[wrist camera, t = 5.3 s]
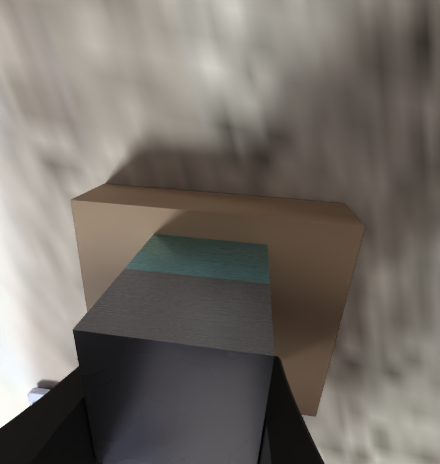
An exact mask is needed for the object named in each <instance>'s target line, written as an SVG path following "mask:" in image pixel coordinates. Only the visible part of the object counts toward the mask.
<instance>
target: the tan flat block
mask: <svg viewBox="0 0 440 464" xmlns="http://www.w3.org/2000/svg"><path fill="white" fill-rule="evenodd" d="M71 206H72V213H73V220H74V226H75V233H76V240H77V246H78V253H79V260H80V266H81V273H82V280H83V286H84V293H85V300H86V306H87V312H88V311H89V310H90V309H91V308H92V306H93V305H94V304H95V303H96V302H97V300H98V299H99V298H100V297H101V296H102V295H103V293H104V292H105V291H106V290H107V289H108V287H109V286H110V285H111V284H112V283H113V282H114V280H115V279H116V278H117V277H118V276H119V274H120V273H121V272H122V271H123V270H124V268H125V267H126V266H127V265H128V264H129V263H130V261H131V260H132V259H133V258H134V257H135V255H136V254H137V253H138V252H139V251H140V250H141V248H142V247H143V246H144V245H145V244H146V242H147V241H148V240H149V239H150V238H151V237H152V235H153V234H162V235H173V236H183V237H194V238H204V239H214V240H225V241H235V242H245V243H256V244H266V245H267V249H268V265H269V280H270V295H271V310H272V326H273V341H274V356H278V357H279V358H280V359H281V362H282V365H283V368H284V372H285V375H286V378H287V380H288V383H289V386H290V389H291V391H292V394H293V396H294V399H295V401H296V404H297V406H298V408H299V411H300V413H301V414H302V415H309V416H316V414H317V410H318V406H319V402H320V398H321V394H322V391H323V387H324V383H325V379H326V375H327V371H328V368H329V364H330V360H331V356H332V352H333V348H334V344H335V341H336V337H337V333H338V329H339V325H340V321H341V318H342V314H343V310H344V306H345V302H346V298H347V295H348V291H349V287H350V283H351V279H352V275H353V272H354V268H355V264H356V260H357V256H358V252H359V248H360V245H361V241H362V237H363V233H364V229H365V225H364V224H363V223H362V222H361V221H360V220H359V219H358V217H357V216H356V215H355V214H354V213H353V212H352V211H351V210H350V209H349V208H348V207H347V206H346V204H345V203H334V202H322V201H310V200H297V199H285V198H273V197H261V196H249V195H237V194H224V193H212V192H200V191H188V190H176V189H164V188H151V187H139V186H127V185H115V184H103V185H101V186H99V187H97V188H94V189H92V190H90V191H88V192H86V193H84V194H82V195H80V196H78V197H76V198H74V199H71Z"/></svg>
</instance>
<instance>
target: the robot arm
mask: <svg viewBox="0 0 440 464" xmlns="http://www.w3.org/2000/svg"><path fill="white" fill-rule="evenodd" d="M28 399H29V403H30V406H29V407H28V408H27V409H25V410H24V411H23V412H22V413H20V414H19V415H18V416H16V417H15V418H14V419H12V420H11V421H10V422H8V423H7V424H5V425H4V426H3V427H1V428H0V464H97V463H96V457H95V452H94V446H93V440H92V435H91V429H90V424H89V418H88V412H87V407H86V401H85V396H84V390H83V384H82V379H81V373H80V368H79V366H78V367H77V368H76V369H75V370H74V371H73V372H71V373H70V374H69V375H68V376H67V377H65V378H64V379H63V380H62V381H61V382H59V383H58V384H57V385H56V386H55V387H53V388H52V389H51V390H50V389H44V388H33V389H32V390H31V391H30V392H29V394H28ZM257 464H324V462H323V460H322V458H321V456H320V454H319V452H318V450H317V448H316V446H315V444H314V441H313V439H312V437H311V435H310V433H309V431H308V429H307V426H306V424H305V422H304V420H303V417H302V415H301V413H300V411H299V408H298V406H297V404H296V401H295V399H294V396H293V394H292V391H291V389H290V386H289V383H288V380H287V378H286V375H285V372H284V368H283V365H282V362H281V359H280V358H279V357H278V356H274V362H273V368H272V374H271V381H270V387H269V393H268V399H267V405H266V411H265V418H264V424H263V430H262V436H261V442H260V449H259V455H258V461H257Z"/></svg>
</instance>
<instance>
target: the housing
mask: <svg viewBox="0 0 440 464" xmlns="http://www.w3.org/2000/svg"><path fill="white" fill-rule="evenodd" d="M73 334H74V339H75V345H76V351H77V356H78V362H79V368H80V373H81V379H82V384H83V390H84V396H85V401H86V407H87V412H88V418H89V424H90V429H91V435H92V440H93V446H94V452H95V457H96V463H97V464H257V461H258V455H259V449H260V442H261V436H262V430H263V424H264V418H265V411H266V405H267V399H268V393H269V387H270V381H271V374H272V368H273V362H274V341H273V326H272V310H271V295H270V280H269V265H268V249H267V245H266V244H256V243H245V242H235V241H225V240H214V239H204V238H194V237H183V236H173V235H162V234H153V235H152V237H151V238H150V239H149V240H148V241H147V242H146V244H145V245H144V246H143V247H142V248H141V250H140V251H139V252H138V253H137V254H136V255H135V257H134V258H133V259H132V260H131V261H130V263H129V264H128V265H127V266H126V267H125V268H124V270H123V271H122V272H121V273H120V274H119V276H118V277H117V278H116V279H115V280H114V282H113V283H112V284H111V285H110V286H109V287H108V289H107V290H106V291H105V292H104V293H103V295H102V296H101V297H100V298H99V299H98V300H97V302H96V303H95V304H94V305H93V306H92V308H91V309H90V310H89V311H88V312H87V313H86V315H85V316H84V317H83V318H82V319H81V321H80V322H79V323H78V324H77V325H76V326H75V328H74V329H73Z"/></svg>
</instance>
